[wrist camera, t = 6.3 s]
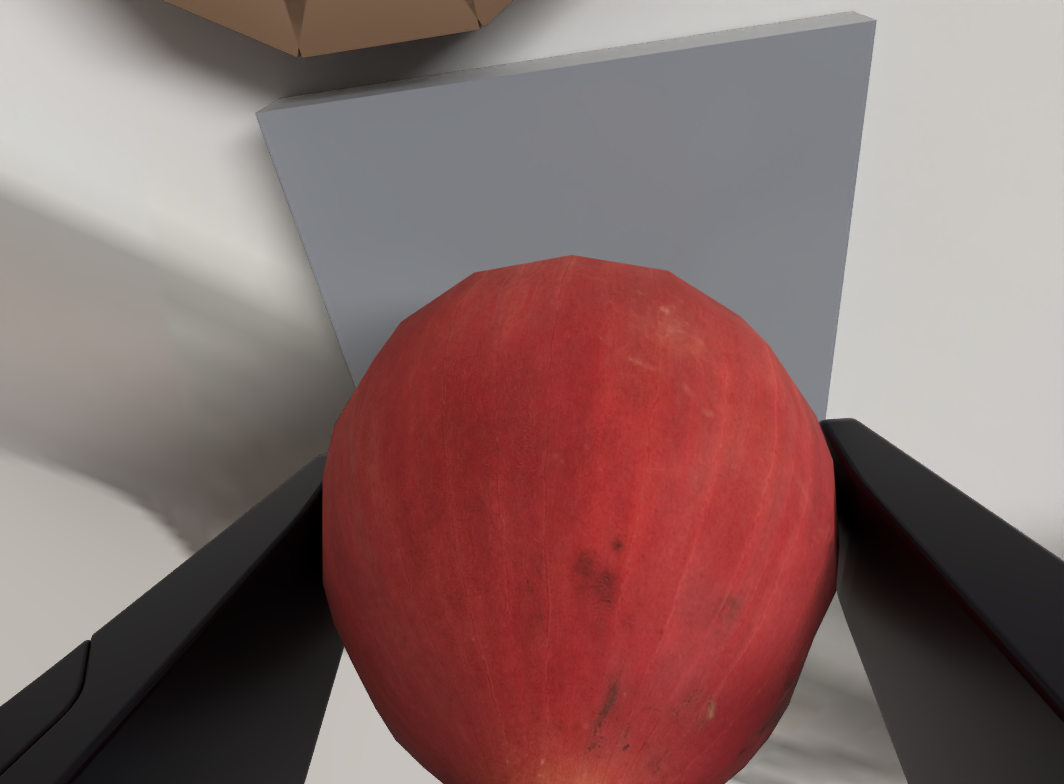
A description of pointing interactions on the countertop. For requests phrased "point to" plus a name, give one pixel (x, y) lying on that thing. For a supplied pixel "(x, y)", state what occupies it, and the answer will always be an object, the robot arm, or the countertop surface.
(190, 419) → the countertop surface
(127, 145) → the countertop surface
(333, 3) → the ring
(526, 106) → the slate tile
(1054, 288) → the countertop surface
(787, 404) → the onion
